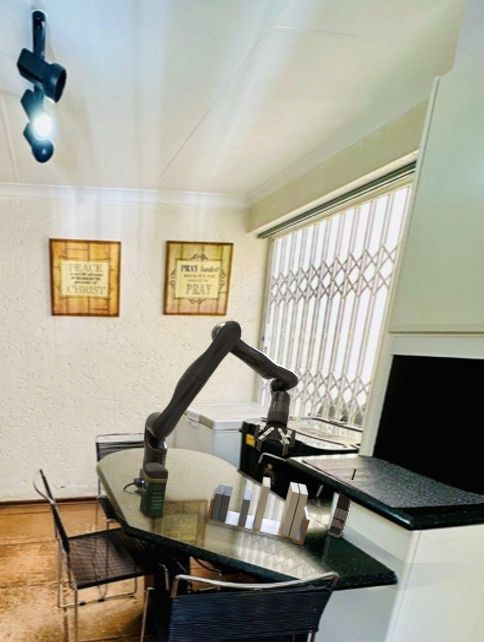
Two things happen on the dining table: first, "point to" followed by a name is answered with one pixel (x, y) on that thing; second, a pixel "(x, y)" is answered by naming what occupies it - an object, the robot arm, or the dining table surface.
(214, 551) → the dining table surface
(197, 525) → the dining table surface
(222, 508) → the grey books
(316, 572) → the dining table surface
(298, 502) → the white books
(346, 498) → the vintage mobile phone
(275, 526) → the book shelf
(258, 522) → the white book
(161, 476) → the coffee jar
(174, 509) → the dining table surface
